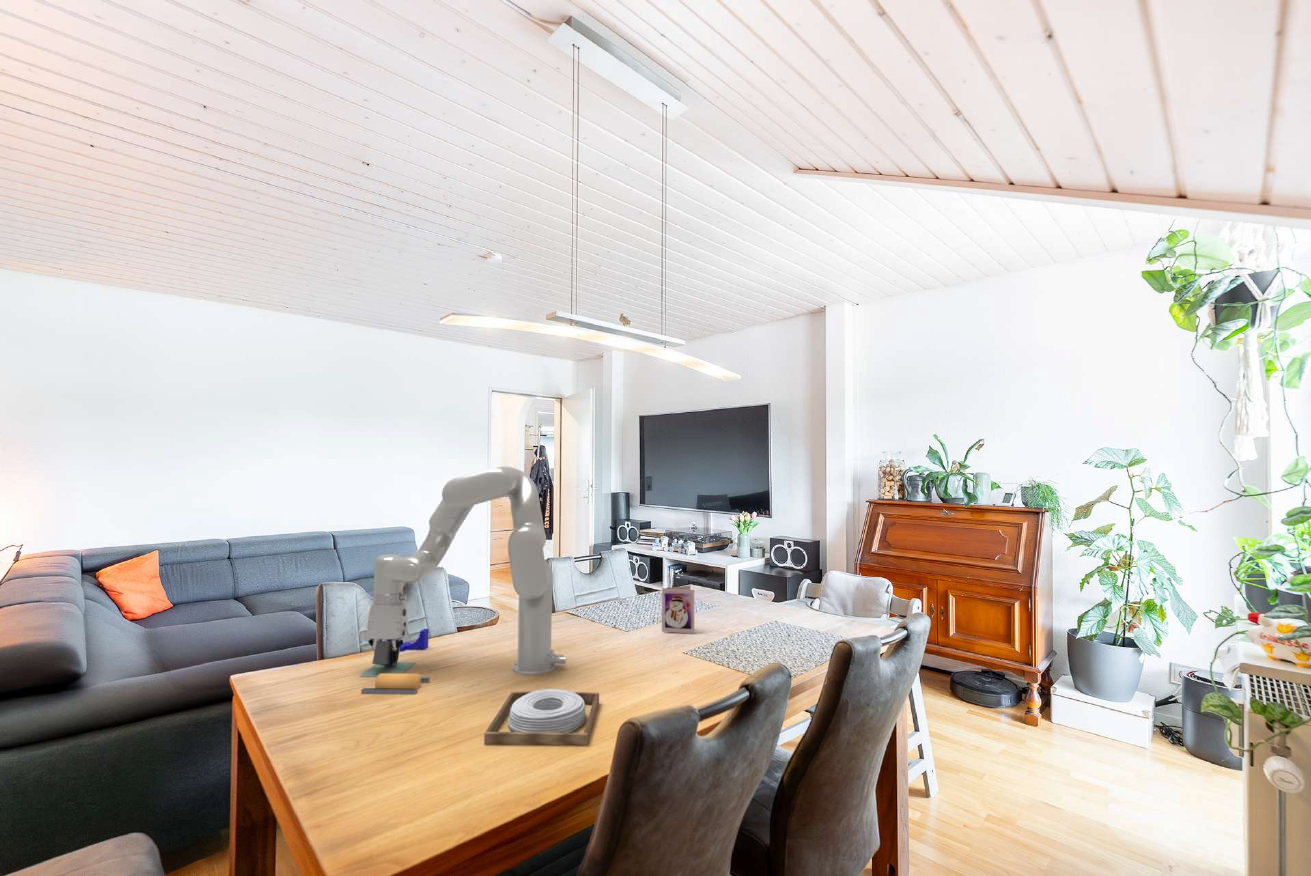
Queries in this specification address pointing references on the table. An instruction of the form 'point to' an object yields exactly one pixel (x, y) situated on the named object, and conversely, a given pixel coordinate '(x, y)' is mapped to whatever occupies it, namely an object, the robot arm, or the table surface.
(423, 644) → the cable clip
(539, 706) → the cable
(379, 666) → the pad
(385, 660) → the block
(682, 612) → the greeting card
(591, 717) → the cable tray
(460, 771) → the table surface
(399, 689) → the channel
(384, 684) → the tan cylinder
